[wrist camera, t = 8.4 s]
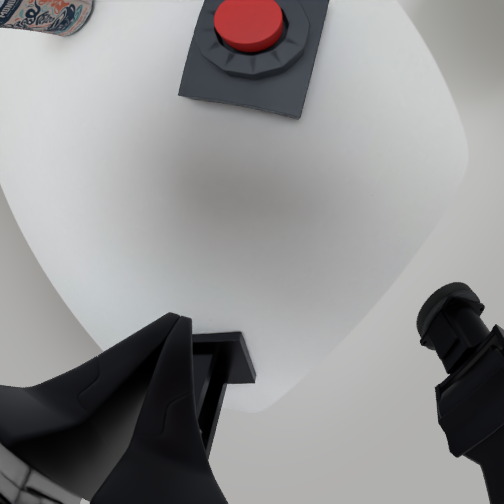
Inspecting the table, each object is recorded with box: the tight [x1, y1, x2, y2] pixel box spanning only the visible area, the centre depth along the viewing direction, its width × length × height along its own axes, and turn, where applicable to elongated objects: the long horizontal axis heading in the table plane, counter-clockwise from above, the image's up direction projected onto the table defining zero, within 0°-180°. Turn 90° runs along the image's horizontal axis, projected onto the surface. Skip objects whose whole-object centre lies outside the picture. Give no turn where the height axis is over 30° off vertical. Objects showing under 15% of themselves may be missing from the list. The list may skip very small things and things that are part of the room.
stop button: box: [214, 0, 283, 52], centre depth 11 cm, size 4×4×2 cm
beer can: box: [0, 0, 92, 36], centre depth 8 cm, size 5×5×12 cm
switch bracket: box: [192, 332, 256, 459], centre depth 23 cm, size 10×7×12 cm
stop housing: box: [178, 0, 329, 119], centre depth 13 cm, size 10×8×4 cm
